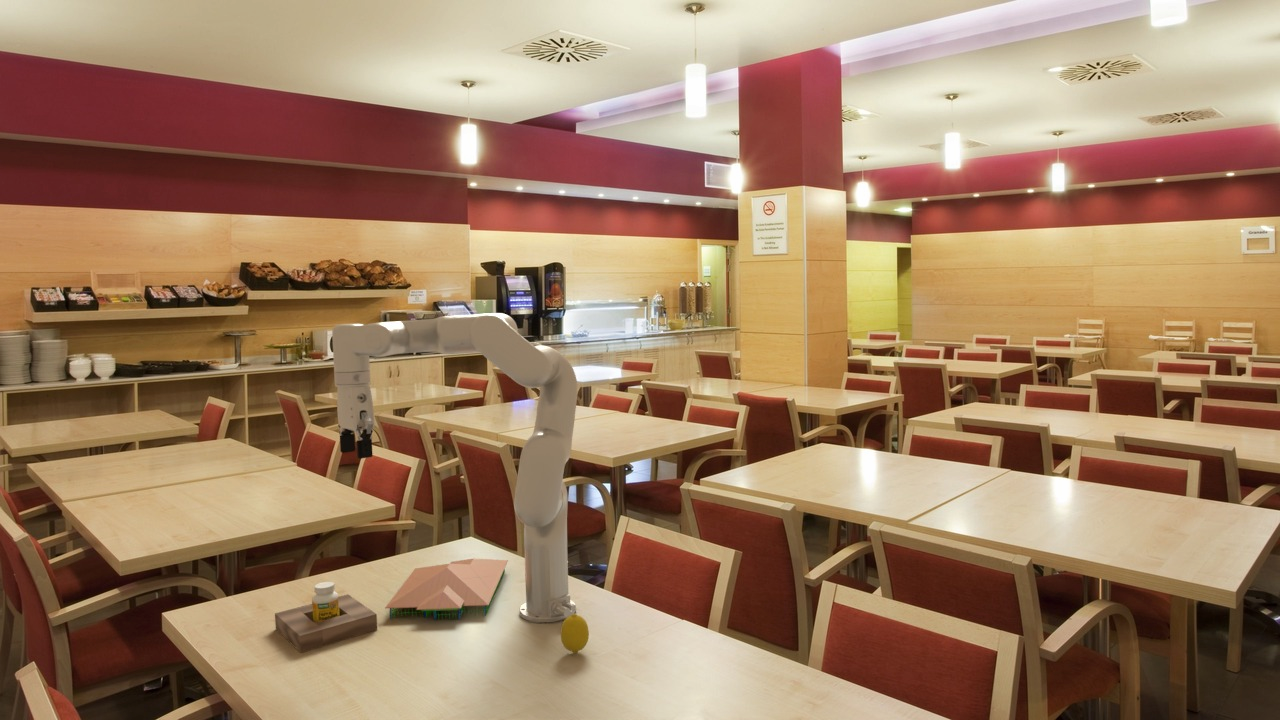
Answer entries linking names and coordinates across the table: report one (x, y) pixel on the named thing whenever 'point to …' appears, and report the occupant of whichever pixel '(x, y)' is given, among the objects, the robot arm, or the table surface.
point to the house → (450, 587)
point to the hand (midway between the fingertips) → (356, 454)
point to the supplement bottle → (325, 602)
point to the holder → (325, 624)
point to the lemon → (574, 633)
